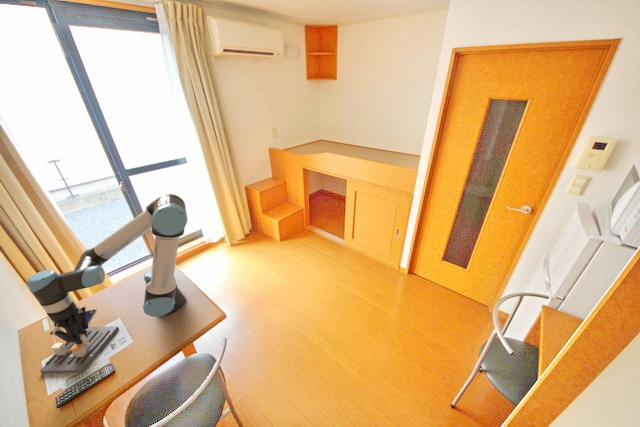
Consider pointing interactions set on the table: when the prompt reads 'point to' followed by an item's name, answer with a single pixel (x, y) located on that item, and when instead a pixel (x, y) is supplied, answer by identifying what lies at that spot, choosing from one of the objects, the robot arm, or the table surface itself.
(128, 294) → the table surface
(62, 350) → the fader
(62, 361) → the console
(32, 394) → the table surface
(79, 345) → the block
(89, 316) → the smartphone
